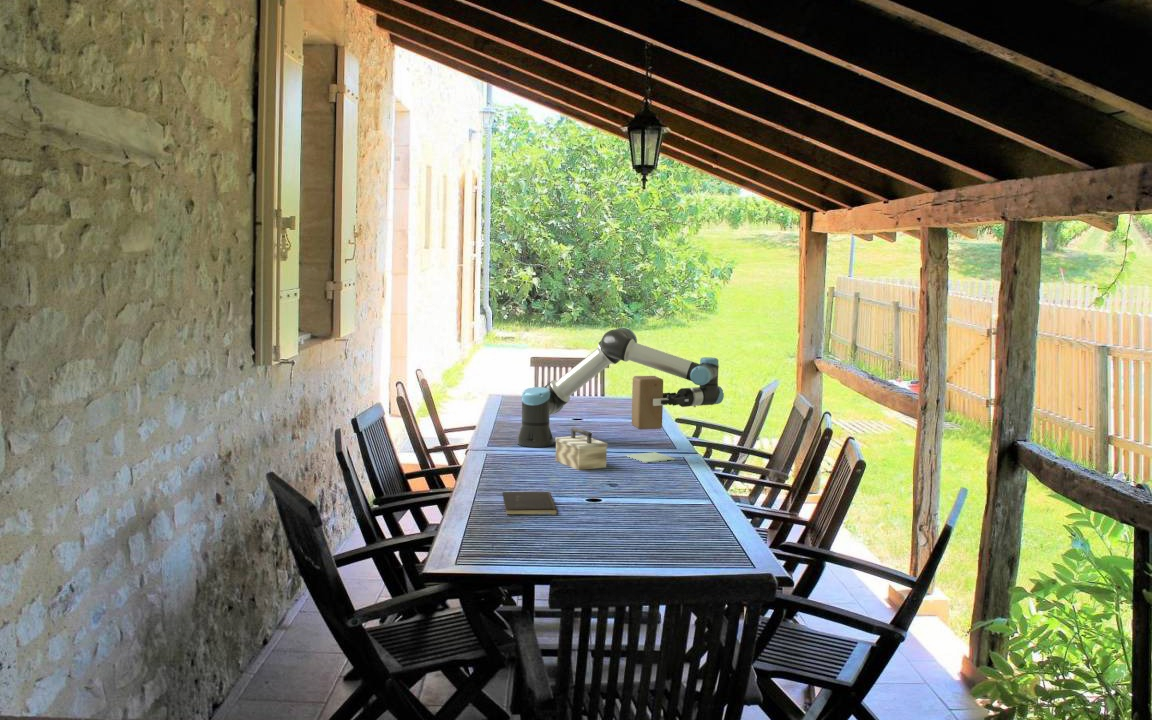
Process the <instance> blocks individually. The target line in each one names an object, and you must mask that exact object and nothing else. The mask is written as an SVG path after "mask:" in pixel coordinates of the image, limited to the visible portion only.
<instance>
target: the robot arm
mask: <svg viewBox="0 0 1152 720" xmlns="http://www.w3.org/2000/svg"><path fill="white" fill-rule="evenodd" d="M699 360H700V361H699V363H698V362H695V361H691V360H688V359H686V358H683V357H679V356H676V355H674V354H671V353H668V352H664V351H662V350H658V349H655V348H653V347H650V346H647V345H643V344H640V343H638V339H637V336H636V334H635V333H634V331H633V330H631V328H628V327H618V328H615V329H611V330H608V331H606V332H605V333H604V334H603V336H602V337H601V340H600V341H599V342H598V346H597V348H596V349H595V350H593V351H592V352H591V353H590V354H588V355H587V356H586V357H585V358H584V359H583V360H581V361H580V362H578V364H575V366H574V367H573V368H571V369H570V370H569V371H567V372H566V373H565V374H564V375H562V377H560V378H558V380H555V379H552V380H550V381H549V382H548V383H547V384H546V385H545V386H544V387H542V386H535V387H528V388H526V389H524V390H523V392H522V397H521V427H520V430H519V433H518V435H517V445H518V444H519V445H518V446H521V445H522V447H526V446H527V447H526V448H545V447H551V446H553V445H554V437H553V434H552V430H551V428H550V416H552V415H554V414H557V413H558V412H560V411H561V410H562V409H563V408H564V406H565V405H566V404H567V403H569V402H570V399H571V398H570V397H571V396H572V395H573V394H575V393H576V392H577V391H578V390H579V389H581V388H582V387H584V386H585V385H586V384H587V383H588V382H590V381H591V380H592V379H593V378H594V377H597V375H598V374H600V373H601V372H602V371H603V370H604V369H606V368H607V367H608V366H610V365H611V364H612V365H616V364H618V363H619V362H620V361H623V362H625V363H626V362H629V361H630V362H634V363H636V364H640V365H643V366H646V367H649V368H651V369H654V370H658V371H661V372H663V373H666V374H669V375H672V376H675V377H678V378H681V379H685V380H687V381H689V382H692V383H693V384H694V385H696V386H697V387H693V386H692V387H682V388H679V389H678V390H677V392H663V398H657V399H653V406H660V405H663V406H671V405H672V406H673V407H674V406H679V407H682V408H685V407H693V408H696V407H697V406H698V407H699V406H701V407H702V406H713V405H714V406H715V405H719V404H721V403H722V402H723V401H724V398H725V393H724V390H723V388H722V387H721V386H719V368H720V365H719V359H718V358H717V357H710V356H709V357H708V356H707V357H701V358H700V359H699Z"/></svg>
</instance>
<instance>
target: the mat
mask: <svg viewBox="0 0 1152 720" xmlns="http://www.w3.org/2000/svg"><path fill="white" fill-rule="evenodd" d="M626 456H627V457H626ZM625 457H626V458H629V457H630V458H629V459H632V458H633V459H632V460H635V459H636V460H635V461H638V460H639V461H638V462H641V461H642V462H641V463H644V462H645V464H649V463H648V462H652V463H660V462H659V461H661V462H668V461H667V460H671V461H676V458H675V457H671V456H667V455H665V454H661V453H660V452H656V451H654V452H653V451H652V452H644V453H643V452H642V453H634V454H625Z"/></svg>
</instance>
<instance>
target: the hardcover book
mask: <svg viewBox="0 0 1152 720" xmlns="http://www.w3.org/2000/svg"><path fill="white" fill-rule="evenodd" d="M502 498H503V499H502V500H503V503H504V508H505V512H507V513H506V515H507V514H543V513H546V514H548V513H550V514H552V515H558V509H557V506H556V504H555V501H554V499H553V496H552V494H551V492H550V491H502Z"/></svg>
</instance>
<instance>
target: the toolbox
mask: <svg viewBox="0 0 1152 720" xmlns="http://www.w3.org/2000/svg"><path fill="white" fill-rule="evenodd" d="M570 432H571V433H570V436H561V437H560V436H559V437H558V436H557V437H555V438H554V441H555V462H557V463H559V462H560V464H562V465H564V466H565V465H566V466H567V467H570V468H572V469H575V470H578V471H582V470H591V469H592V470H593V469H594V470H595V469H601V468H607V457H608V456H607V453H608V452H607V451H608V450H607V449H608V443H607V442H604V441H602V440H599V439H596V438H593V437H592V436H593V434H592V432H591V431H587V430H584V429H581V428H578V427H574V426H571V427H570ZM576 433H577V434H579V435H576ZM580 434H581V435H580Z"/></svg>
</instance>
